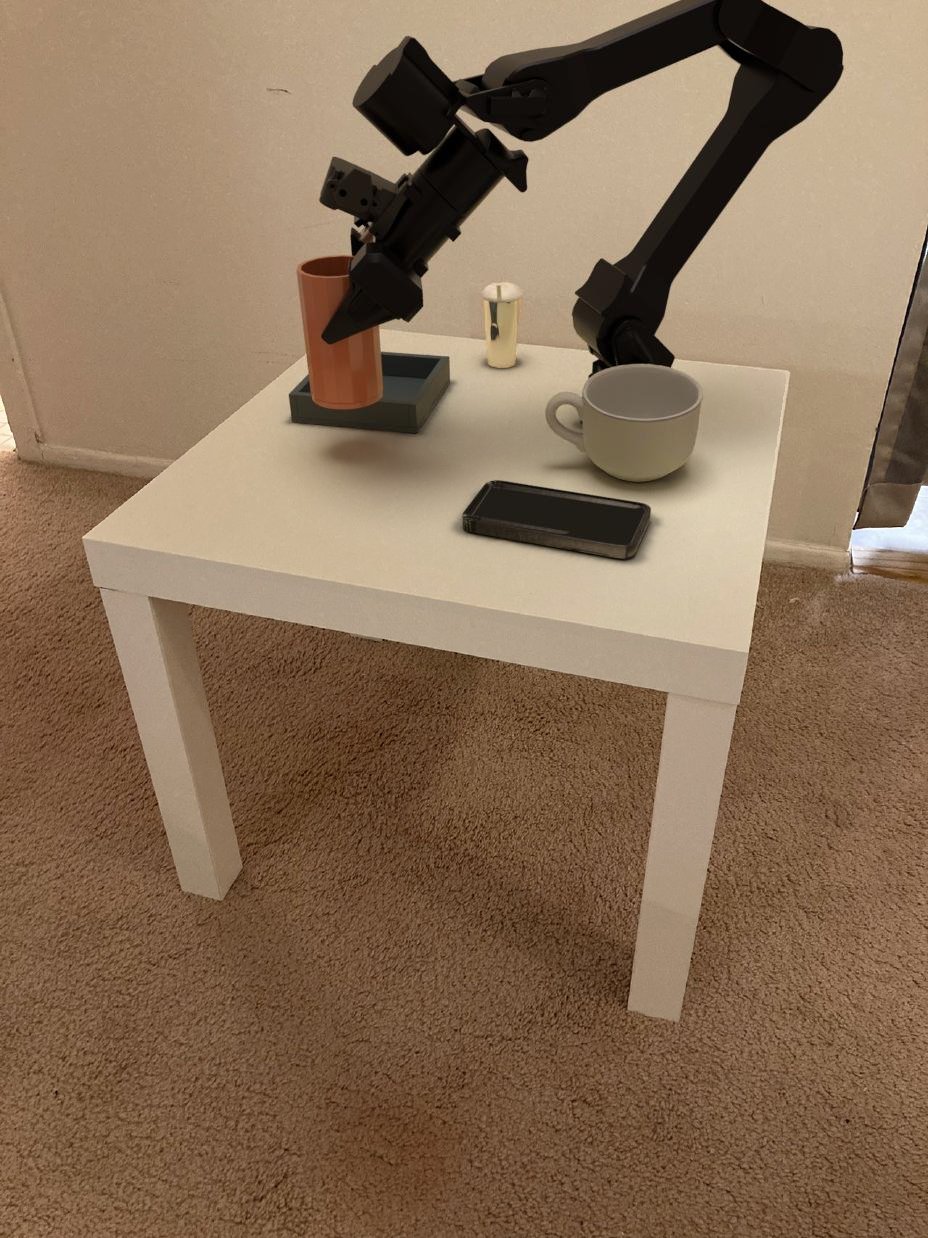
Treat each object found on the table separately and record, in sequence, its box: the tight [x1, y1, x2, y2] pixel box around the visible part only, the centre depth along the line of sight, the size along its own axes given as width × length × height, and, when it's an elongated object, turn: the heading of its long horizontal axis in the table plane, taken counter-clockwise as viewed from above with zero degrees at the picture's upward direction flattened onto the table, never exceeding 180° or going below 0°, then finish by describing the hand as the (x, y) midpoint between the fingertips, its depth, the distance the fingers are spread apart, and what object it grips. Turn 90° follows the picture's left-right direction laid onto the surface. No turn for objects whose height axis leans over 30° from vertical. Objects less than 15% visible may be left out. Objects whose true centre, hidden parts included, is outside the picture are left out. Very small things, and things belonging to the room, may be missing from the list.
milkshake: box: [481, 281, 523, 369], centre depth 112 cm, size 4×5×10 cm
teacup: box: [544, 364, 704, 483], centre depth 91 cm, size 14×11×8 cm
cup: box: [296, 254, 384, 409], centre depth 90 cm, size 7×7×12 cm
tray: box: [288, 351, 451, 434], centre depth 106 cm, size 14×14×3 cm
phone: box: [462, 479, 652, 559], centre depth 84 cm, size 8×1×15 cm
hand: (326, 326), depth 90 cm, fingers closed on cup, 7 cm apart
